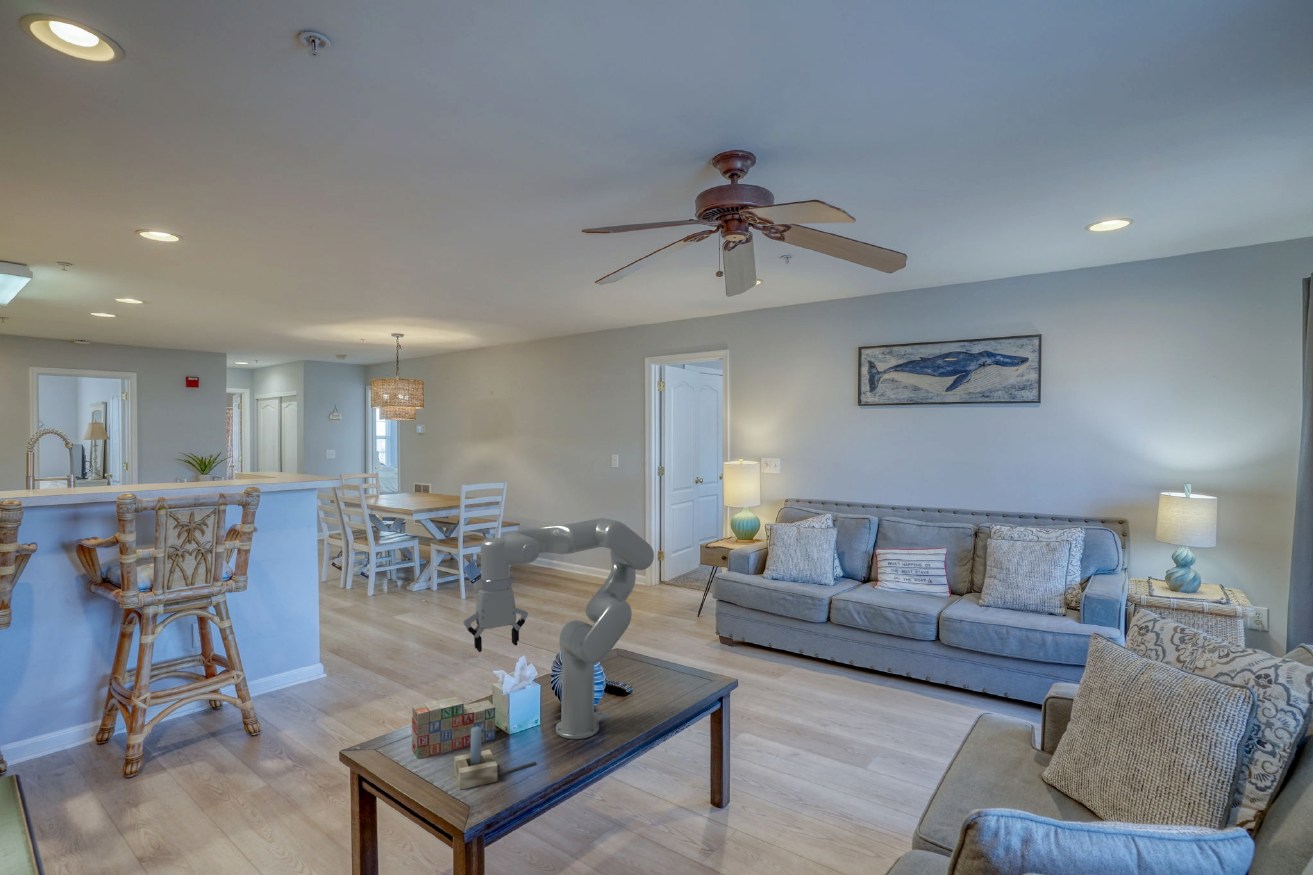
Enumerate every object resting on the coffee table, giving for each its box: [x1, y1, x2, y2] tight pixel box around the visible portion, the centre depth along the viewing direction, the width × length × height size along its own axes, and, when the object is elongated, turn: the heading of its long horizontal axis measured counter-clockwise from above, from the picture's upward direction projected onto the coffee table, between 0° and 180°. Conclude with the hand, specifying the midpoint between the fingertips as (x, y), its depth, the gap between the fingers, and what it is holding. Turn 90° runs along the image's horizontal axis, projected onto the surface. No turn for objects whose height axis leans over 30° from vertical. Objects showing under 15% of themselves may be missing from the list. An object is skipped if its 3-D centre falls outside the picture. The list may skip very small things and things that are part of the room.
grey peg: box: [469, 727, 482, 766], centre depth 160 cm, size 3×3×12 cm
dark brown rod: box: [498, 760, 537, 777], centre depth 164 cm, size 10×1×1 cm, turn 127°
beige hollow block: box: [453, 749, 498, 791], centre depth 160 cm, size 9×9×4 cm
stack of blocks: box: [411, 696, 496, 760], centre depth 177 cm, size 21×6×12 cm, turn 123°
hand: (497, 647), depth 172 cm, fingers open, 9 cm apart
